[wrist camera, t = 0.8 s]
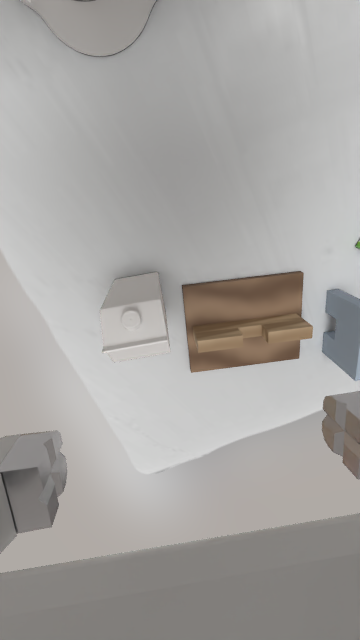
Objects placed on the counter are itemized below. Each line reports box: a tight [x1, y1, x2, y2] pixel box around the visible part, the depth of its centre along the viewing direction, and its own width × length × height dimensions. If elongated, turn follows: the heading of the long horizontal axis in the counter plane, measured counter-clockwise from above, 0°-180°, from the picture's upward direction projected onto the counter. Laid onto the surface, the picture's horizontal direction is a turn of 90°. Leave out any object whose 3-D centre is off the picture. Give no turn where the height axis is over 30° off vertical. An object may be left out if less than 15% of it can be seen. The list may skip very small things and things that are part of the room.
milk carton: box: [100, 272, 170, 363], centre depth 42 cm, size 7×7×19 cm
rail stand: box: [182, 271, 313, 373], centre depth 50 cm, size 16×20×7 cm
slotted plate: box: [322, 289, 360, 381], centre depth 51 cm, size 12×2×10 cm, turn 6°
